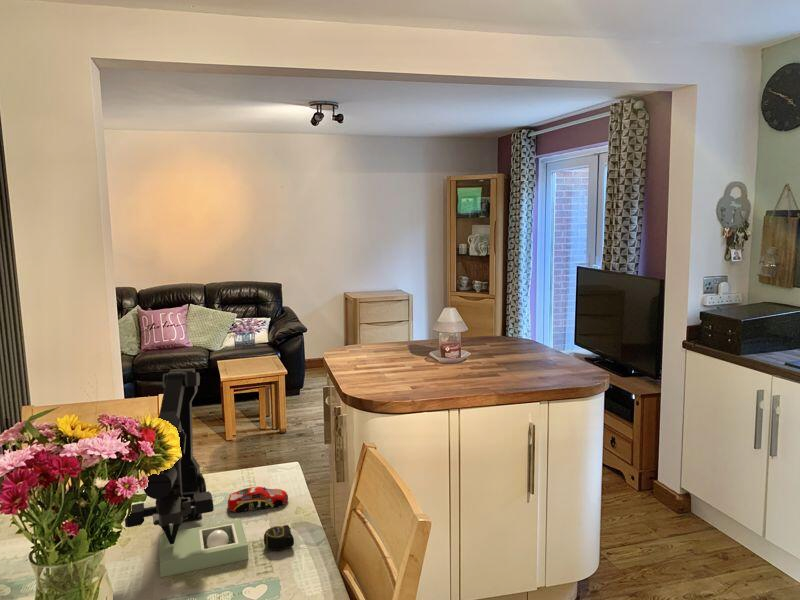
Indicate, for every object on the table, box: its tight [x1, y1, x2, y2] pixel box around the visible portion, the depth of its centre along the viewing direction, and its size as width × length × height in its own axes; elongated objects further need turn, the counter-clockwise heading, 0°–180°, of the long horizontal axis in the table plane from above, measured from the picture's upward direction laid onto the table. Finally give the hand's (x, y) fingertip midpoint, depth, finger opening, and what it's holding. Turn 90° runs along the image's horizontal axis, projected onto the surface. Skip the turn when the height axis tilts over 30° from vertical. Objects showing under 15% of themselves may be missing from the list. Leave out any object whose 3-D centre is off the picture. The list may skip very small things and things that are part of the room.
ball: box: [206, 530, 230, 548], centre depth 143 cm, size 5×5×5 cm
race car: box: [227, 486, 289, 513], centre depth 166 cm, size 16×7×5 cm, turn 105°
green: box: [159, 519, 249, 578], centre depth 142 cm, size 13×19×4 cm
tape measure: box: [263, 524, 295, 551], centre depth 146 cm, size 7×7×4 cm
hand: (172, 543), depth 139 cm, fingers closed
